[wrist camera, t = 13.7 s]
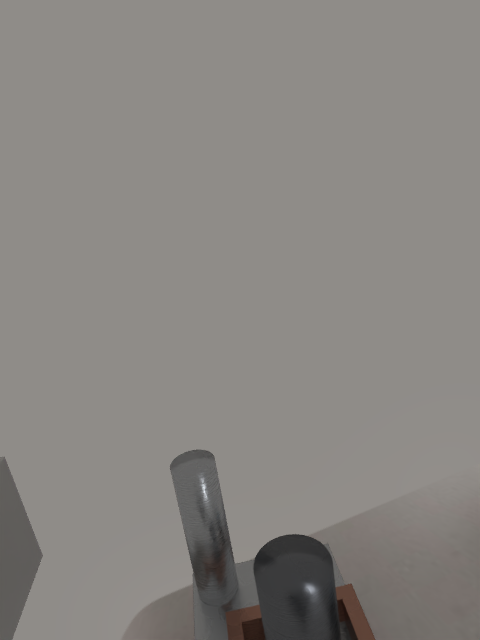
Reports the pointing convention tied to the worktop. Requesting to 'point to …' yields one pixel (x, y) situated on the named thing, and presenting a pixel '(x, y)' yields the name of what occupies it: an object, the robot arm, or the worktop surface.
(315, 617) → the pin
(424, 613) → the worktop surface
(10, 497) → the robot arm
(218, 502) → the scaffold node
